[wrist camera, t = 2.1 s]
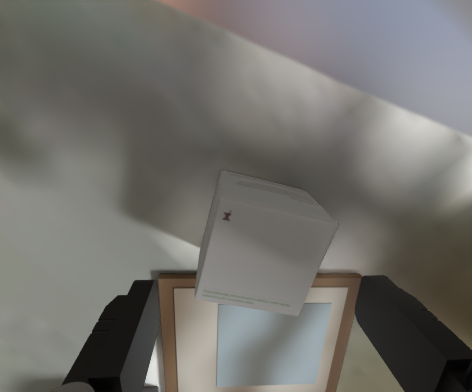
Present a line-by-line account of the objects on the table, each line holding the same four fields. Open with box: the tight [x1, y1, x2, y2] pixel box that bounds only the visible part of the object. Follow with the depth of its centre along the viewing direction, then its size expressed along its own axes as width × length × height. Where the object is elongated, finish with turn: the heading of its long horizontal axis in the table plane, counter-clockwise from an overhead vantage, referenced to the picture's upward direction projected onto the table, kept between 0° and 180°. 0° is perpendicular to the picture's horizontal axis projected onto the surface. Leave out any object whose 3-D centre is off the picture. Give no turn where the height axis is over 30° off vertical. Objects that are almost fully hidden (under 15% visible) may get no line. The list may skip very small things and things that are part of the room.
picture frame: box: [158, 274, 362, 392], centre depth 19 cm, size 14×13×1 cm
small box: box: [195, 170, 339, 316], centre depth 14 cm, size 6×6×5 cm
